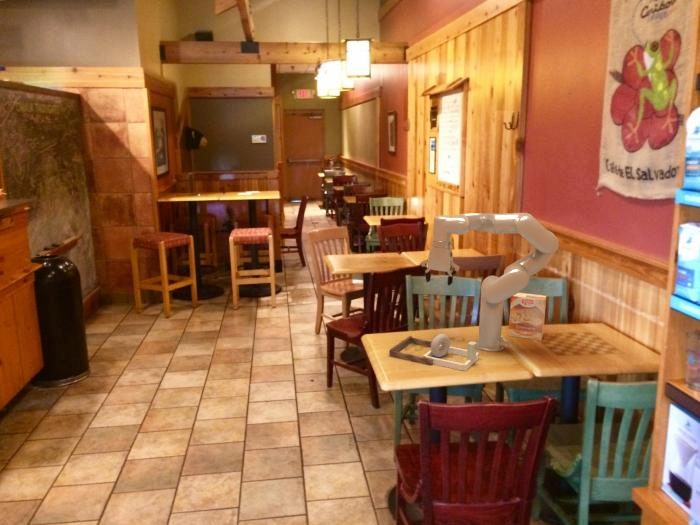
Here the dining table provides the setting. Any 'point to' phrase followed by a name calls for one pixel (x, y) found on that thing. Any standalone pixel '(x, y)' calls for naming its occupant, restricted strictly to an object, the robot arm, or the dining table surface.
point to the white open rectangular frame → (470, 353)
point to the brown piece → (395, 353)
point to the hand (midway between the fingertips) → (438, 283)
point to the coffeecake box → (527, 316)
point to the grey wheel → (436, 343)
